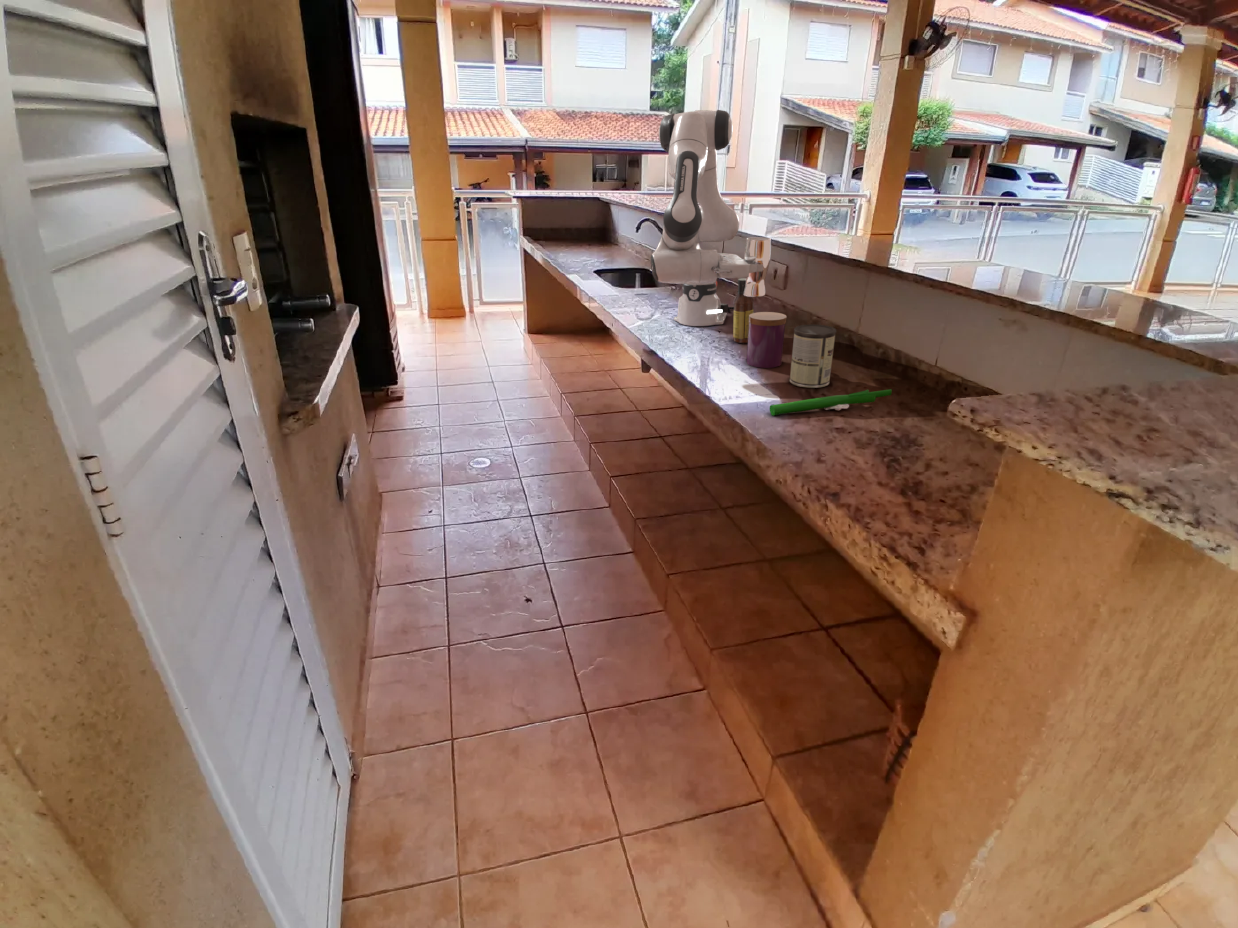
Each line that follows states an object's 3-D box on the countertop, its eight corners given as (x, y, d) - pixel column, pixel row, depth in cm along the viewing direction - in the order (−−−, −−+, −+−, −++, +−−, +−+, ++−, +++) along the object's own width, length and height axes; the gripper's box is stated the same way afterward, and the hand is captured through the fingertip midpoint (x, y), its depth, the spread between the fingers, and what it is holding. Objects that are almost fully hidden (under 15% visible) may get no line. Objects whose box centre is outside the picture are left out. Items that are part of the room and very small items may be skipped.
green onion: (775, 421, 141) (895, 403, 145) (775, 408, 139) (897, 390, 143) (766, 414, 145) (883, 396, 149) (767, 401, 144) (885, 383, 148)
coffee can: (790, 374, 168) (795, 323, 162) (830, 377, 165) (836, 325, 159) (787, 386, 160) (792, 332, 153) (828, 389, 157) (835, 335, 150)
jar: (750, 356, 185) (753, 311, 179) (785, 359, 181) (790, 313, 175) (741, 365, 177) (744, 318, 171) (777, 369, 173) (782, 321, 167)
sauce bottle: (751, 339, 203) (755, 277, 194) (753, 344, 197) (757, 280, 189) (731, 339, 204) (734, 277, 195) (732, 344, 198) (736, 280, 189)
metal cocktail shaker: (739, 293, 176) (742, 237, 169) (762, 292, 176) (767, 237, 170) (745, 297, 170) (749, 240, 163) (770, 297, 170) (775, 239, 163)
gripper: (715, 259, 159) (769, 258, 159) (705, 250, 177) (753, 249, 177) (714, 284, 162) (766, 283, 161) (704, 272, 180) (752, 271, 180)
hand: (759, 265), depth 169 cm, fingers closed on metal cocktail shaker, 6 cm apart
